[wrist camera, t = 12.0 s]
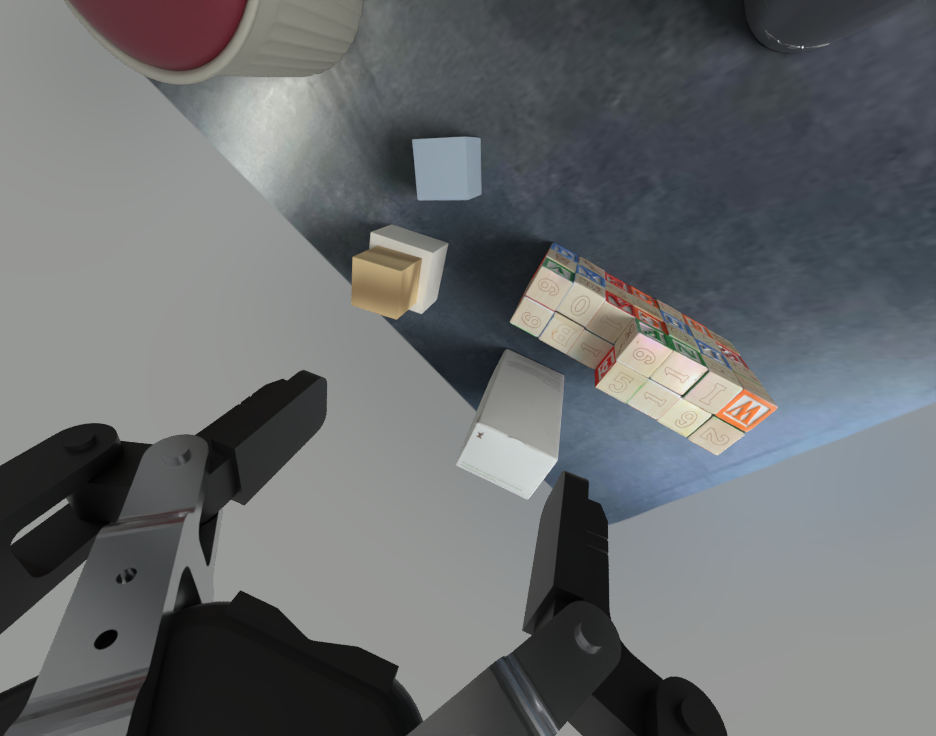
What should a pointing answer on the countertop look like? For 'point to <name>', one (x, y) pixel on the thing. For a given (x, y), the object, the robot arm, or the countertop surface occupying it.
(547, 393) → the skincare box
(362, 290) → the maple cube
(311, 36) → the canister
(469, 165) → the slate cube
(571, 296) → the stack of blocks
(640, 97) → the countertop surface
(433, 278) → the base block
